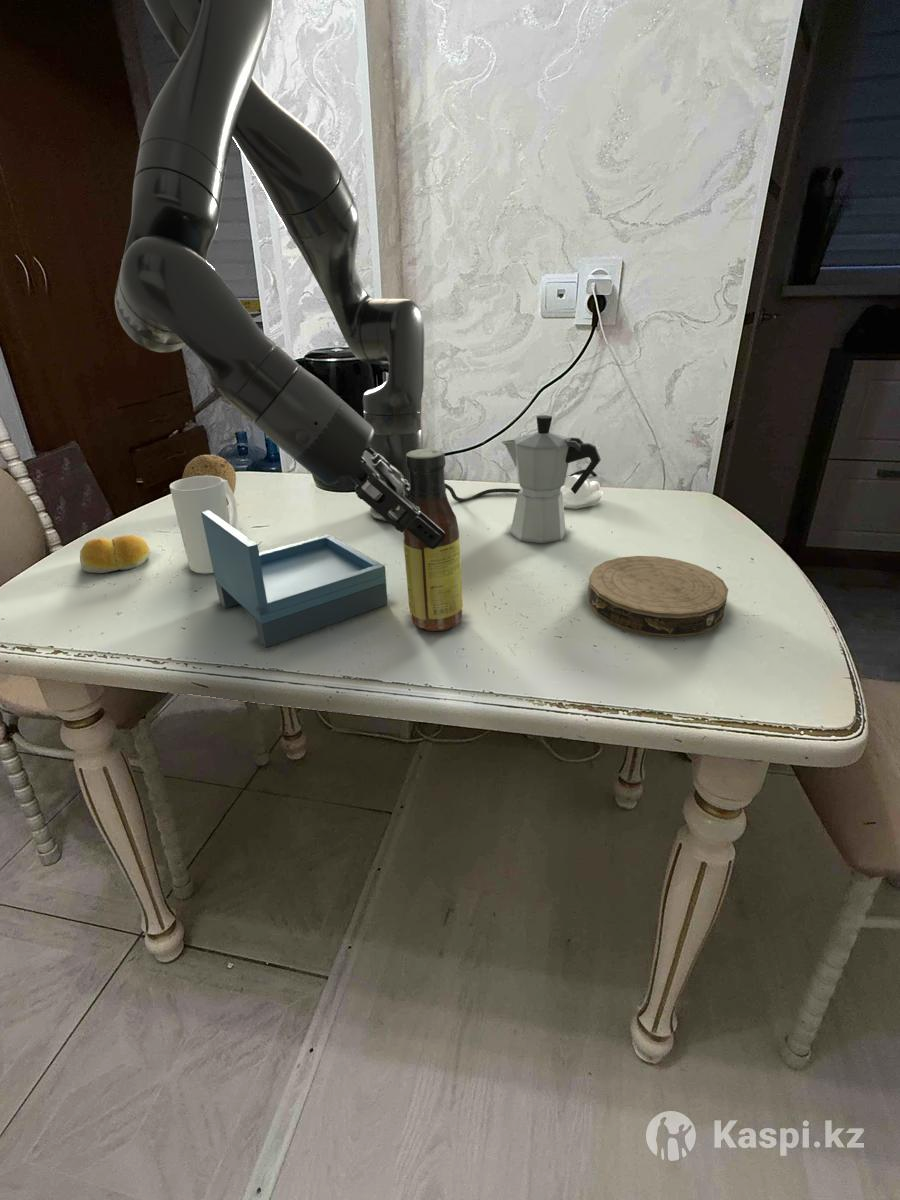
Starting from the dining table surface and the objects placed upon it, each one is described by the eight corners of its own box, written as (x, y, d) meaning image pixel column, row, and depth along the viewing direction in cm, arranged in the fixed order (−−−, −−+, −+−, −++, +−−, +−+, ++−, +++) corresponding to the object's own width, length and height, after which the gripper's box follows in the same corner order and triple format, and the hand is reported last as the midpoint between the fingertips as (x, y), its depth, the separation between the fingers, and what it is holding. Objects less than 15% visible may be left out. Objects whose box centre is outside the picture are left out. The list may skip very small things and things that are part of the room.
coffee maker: (490, 537, 96) (492, 418, 88) (507, 519, 104) (510, 407, 95) (587, 550, 91) (598, 425, 83) (597, 530, 99) (609, 413, 90)
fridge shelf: (332, 568, 87) (323, 485, 81) (387, 604, 77) (381, 512, 72) (219, 602, 78) (200, 511, 73) (266, 648, 68) (248, 546, 63)
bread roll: (154, 566, 89) (147, 540, 87) (83, 579, 85) (74, 552, 83) (149, 546, 95) (143, 522, 93) (83, 558, 91) (75, 532, 90)
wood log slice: (560, 599, 78) (562, 577, 76) (641, 566, 86) (644, 546, 85) (670, 653, 66) (674, 628, 65) (750, 608, 75) (755, 586, 73)
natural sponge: (191, 524, 104) (178, 464, 99) (183, 509, 111) (170, 453, 106) (246, 514, 108) (236, 457, 103) (235, 500, 115) (225, 446, 110)
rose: (614, 474, 111) (590, 487, 104) (612, 498, 113) (588, 513, 106) (564, 465, 116) (537, 478, 109) (562, 488, 118) (536, 502, 111)
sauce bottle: (469, 612, 75) (469, 447, 66) (452, 637, 70) (450, 462, 61) (418, 604, 77) (412, 443, 68) (398, 628, 72) (388, 457, 63)
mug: (216, 577, 85) (198, 492, 79) (177, 571, 87) (157, 487, 81) (261, 550, 93) (248, 471, 88) (225, 545, 95) (210, 467, 90)
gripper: (341, 410, 54) (470, 525, 61) (337, 386, 66) (445, 484, 74) (287, 474, 56) (419, 579, 63) (293, 439, 68) (403, 529, 75)
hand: (433, 527), depth 68 cm, fingers open, 8 cm apart
